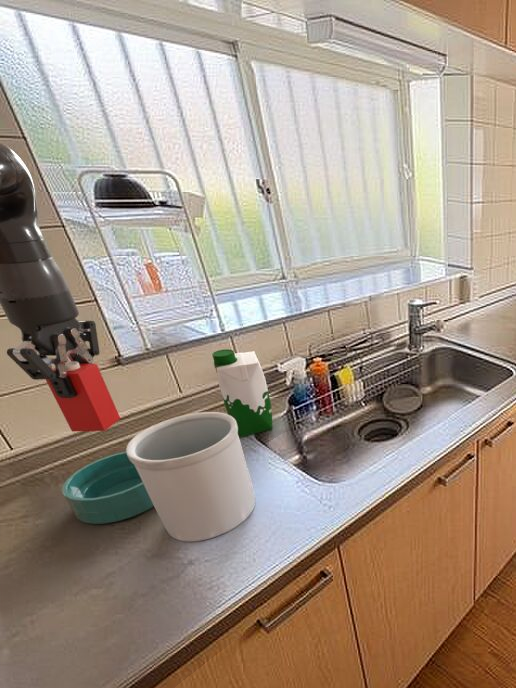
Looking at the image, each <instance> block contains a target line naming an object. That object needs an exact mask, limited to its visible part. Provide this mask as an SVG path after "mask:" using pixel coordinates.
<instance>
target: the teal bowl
mask: <svg viewBox="0 0 516 688" xmlns="http://www.w3.org/2000/svg"><path fill="white" fill-rule="evenodd" d="M62 485H63V486H62V490H61V492H62V494H63V496H64V498H65V499H66V502H67V503H68V506H70V508H71V510H72V512H73V513H74V515H75V517H76V519H77V520H79V521H81V522H82V523H85V524H90V525H91V524H92V525H93V524H94V525H100V524H101V525H102V524H109V523H114V522H119V521H123V520H127V519H130V518H132V517H136V516H138V515H141V513H144V512H146V511H148V510H150V509H151V508H153V507H154V505H153V503H152V501H151V499H150V497H149V494H148V492H147V490H146V488H145V486H144V484H143V482H142V480H141V478H140V475H139V473H138V471H137V469H136V467H135V465H134V464H133V463H132V462H131V461H130V460H129V458H128V456H127V453H126V451H122V452H117V453H114V454H110V455H107V456H105V457H102V458H99V459H97V460H94V461H93V462H90V463H88V464H86V465H84V466H83V467H82V468H80V469H78V470H76V471H75V472H74V473H72V474H71V475H70V476H69V477H67V479H66V480H65V482H64V483H63V484H62Z"/></svg>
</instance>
